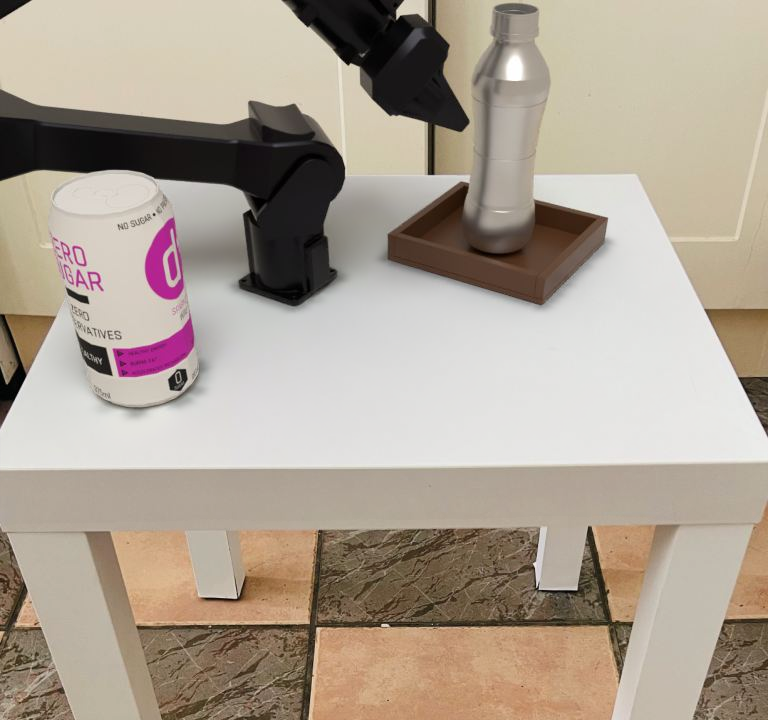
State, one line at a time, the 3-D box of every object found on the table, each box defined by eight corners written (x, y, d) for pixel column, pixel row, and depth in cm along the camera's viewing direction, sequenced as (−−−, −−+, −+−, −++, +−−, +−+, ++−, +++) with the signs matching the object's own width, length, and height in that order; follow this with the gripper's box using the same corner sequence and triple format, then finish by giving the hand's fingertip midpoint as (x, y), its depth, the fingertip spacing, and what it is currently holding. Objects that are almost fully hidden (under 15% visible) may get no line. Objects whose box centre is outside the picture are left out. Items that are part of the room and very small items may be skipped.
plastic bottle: (483, 223, 89) (499, -7, 75) (545, 242, 86) (573, 6, 72) (446, 249, 85) (456, 11, 72) (509, 270, 82) (532, 25, 69)
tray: (387, 259, 85) (387, 233, 83) (459, 205, 93) (461, 180, 91) (541, 305, 78) (545, 278, 77) (604, 242, 87) (608, 217, 85)
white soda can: (214, 356, 73) (186, 171, 63) (176, 418, 67) (138, 224, 57) (119, 346, 74) (76, 162, 64) (73, 405, 68) (17, 213, 58)
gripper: (423, -113, 57) (566, 60, 66) (346, -154, 70) (475, -5, 79) (306, 38, 60) (458, 181, 70) (254, -28, 74) (388, 99, 83)
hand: (446, 107), depth 75 cm, fingers open, 9 cm apart
